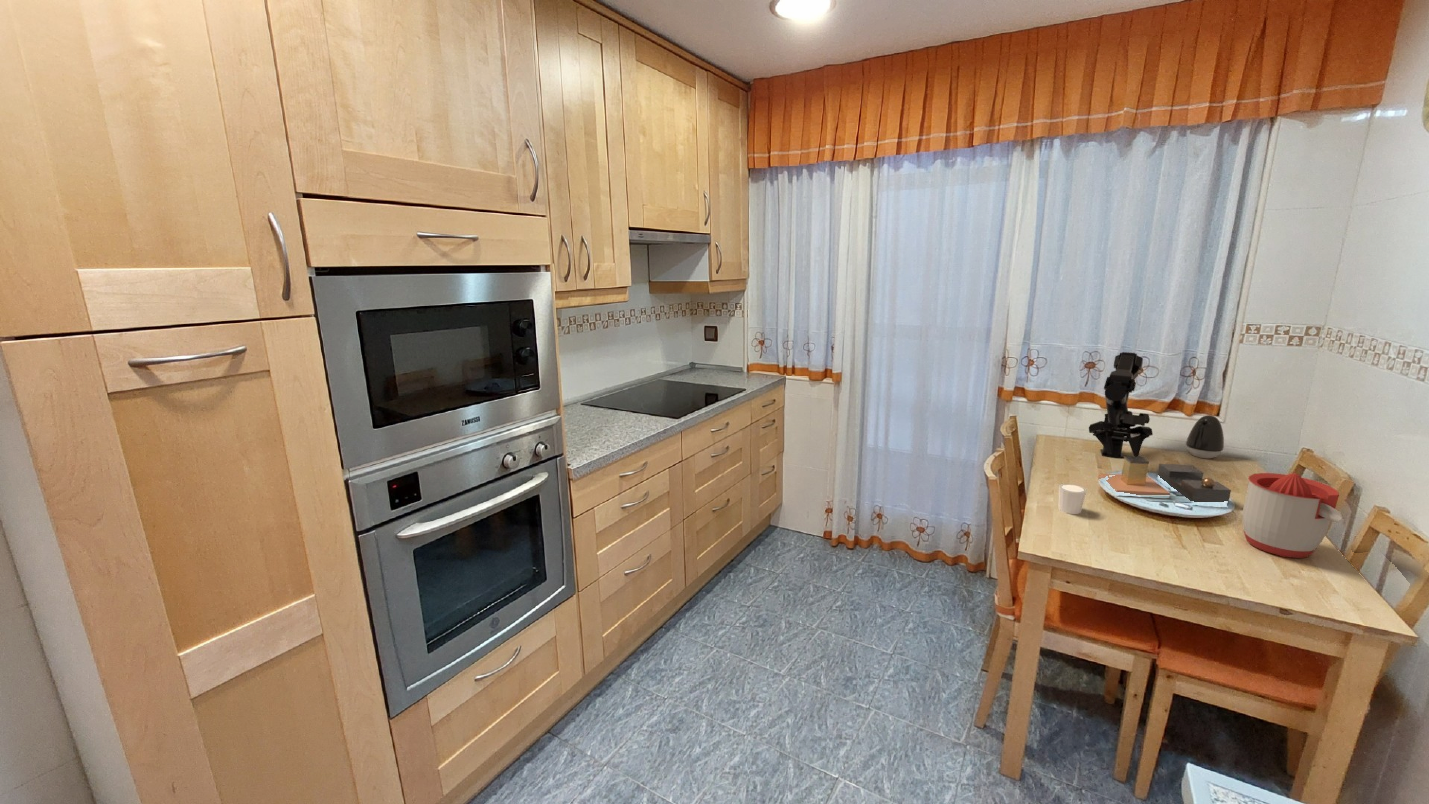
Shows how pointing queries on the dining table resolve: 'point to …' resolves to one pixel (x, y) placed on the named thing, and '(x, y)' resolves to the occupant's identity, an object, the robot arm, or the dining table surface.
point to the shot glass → (1071, 498)
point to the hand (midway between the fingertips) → (1123, 455)
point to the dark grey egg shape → (1206, 438)
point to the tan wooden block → (1134, 470)
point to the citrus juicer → (1288, 513)
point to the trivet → (1134, 486)
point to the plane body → (1193, 483)
